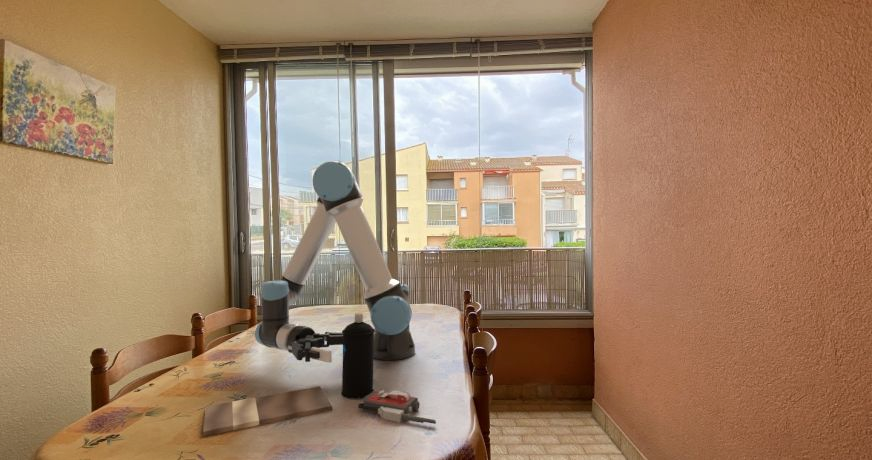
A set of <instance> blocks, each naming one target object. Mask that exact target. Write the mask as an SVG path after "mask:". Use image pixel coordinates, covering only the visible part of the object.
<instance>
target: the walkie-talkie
mask: <svg viewBox="0 0 872 460" xmlns="http://www.w3.org/2000/svg"><path fill="white" fill-rule="evenodd" d="M362 400H363V401H362V402H359V403H358V404H357V408H358V409H361V410H363V412H365V413H369V414H376V415H380V417H381V418H382V419H383V420H385V421H389V422H390V421H391V422H396V423H398V424H401V422H403V421H405V422H407V421H410V422H414V423H421V424H424V423H428V424H434V425H436V423H437V421H436V420H435V419H431V418H427V417H426V418H425V417H420V416H416V415H412V414H413V413H414V412H415V411H416V412H418V411H419V409H420V405H421V404H420V402H419V399H418V397H416V396H411V395H410V393H409V392H406V391H400V390H394V389H393V390H391V391H390V392H385V390H384V389H383V390H381V391H376V390H374V391H373V392H372V393H370V394H369V395H367V396H366V397H365V398H362Z"/></svg>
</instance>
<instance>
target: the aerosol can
mask: <svg viewBox="0 0 872 460" xmlns="http://www.w3.org/2000/svg"><path fill="white" fill-rule="evenodd" d="M363 316H364V315H363V313H360V312H359V313H355V314H354V321H353V322H352V323H349V324H347V325H346V326H345V327H344V328H343V329H342V330H341V333H343V345H342V380H341V381H342V383H341V384H342V385H341V386H342V387H341V388H342V390H341V392H340V394H341V396H342V397H344V398H345V399H348V400H349V399H350V400H363V399H364V398H365V397H366V396H367V395H369V394H370V393H372V392H373V391H375V389H374V359H375V358H374V332H375V328H374V327H372V325H370V323H367V322H364V321H363V320H364V317H363Z"/></svg>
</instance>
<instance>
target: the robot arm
mask: <svg viewBox="0 0 872 460" xmlns="http://www.w3.org/2000/svg"><path fill="white" fill-rule="evenodd" d="M312 188H313V190H314V192H315V194H316V195H317V196H318V198H317V200H316V205H317V207H316V209H315V211H314V213H313V214H312V217H311V219H310V221H309V223H308V224H307V227H305V228H306V229H305V230H304V233H303V235H302V236H301V237H300V240H299V242H298V244H297V246H296V247H295V248H296V249H295V250H294V252H293V254H292V256H291V258H290V260H289V262H288V264H287V266H286V268H285V269H284V271H283V274H282V276H281V278H280V280H269V281H265V282H263V283H262V285H261V292H260V297H261V321H260V322H259V323H258V324H257V326H256V328H255V330H254V338H255V340H256V342H257V343H258V344H260V345H263V346H265V347H267V348H270V349H271V348H272V349H273V348H274V349H276V350H278V349H279V350H281V351H286V352H288V353H290V354H292V355H293V357H294V358H295V359H296V360H297V361H302V360H303V359H304V361H305V363H309V362H310V361H311V359H312V360H316V361H320V362H324V363H329V364H330V363H332V362H333V360H332V358H333V357H332V355H333V353H332V350H329V349H324V348H329V347H330V346H340V345H342V346H343V333H342V332H334V331H333V332H331V331H325V332H324V333H319V332H317V333H316V332H315V330H314V329H313V328H312V327H310V326H305V325H300V324H295V323H290V307H291V306H292V305H293V304H296V303H297V302H298V301H299V299H300V297H301V295H302V290H303V289H304V286H305V284H306V282H307V280H308V278H309V276H310V274H311V272H312V270H313V269H314V266H315V264H316V263H317V260H318V259H319V256H320V255H321V253H322V251H323V249H324V247H325V244H326V242H327V241H328V239H329V238H330V237H329V236H331V233H332V231H333V229H334V227H335V225H336V224H337V226H338V229H339V231H340V233H341V236H342V238H343V240H344V242H345V245H346V247H347V250H348V251H349V252H348V253H349V254H350V256H351V259H352V261H353V263H354V266H355V268H356V270H357V273H358V275H359V277H360V280H361V282H362V284H363V286H364V289H365V292H364V294H363V299H364V301H365V304H366V307H367V309H368V311H369V313H370V316H369V317H370V321H371V324H372V326H373V328H374V330H375V332H374V358H373V359H377V360H383V361H396V360H403V359H407V358H410V357H413V356H414V355H415V354H416V345H415V342H414V339H413V336H412V333H411V331H410V322H411V320H412V315H413V314H412V308H411V306H410V288H409V285H408V284H401V283H400V281H399V280H398V279H394V278H393V277H392V274H391V272H390V269H389V267H388V264H387V263H386V261H385V258H384V256H383V253H382V251H381V249H380V245H378V242H377V240H376V237H375V235H374V233H373V230H372V227H371V226H370V223H369V221H368V218H367V216H366V213H365V211H364V209H363V207H362V204H363V201H364V196H363V195H362V191H361V189H360V187H359V185H358V180H357V177H356V175H355V174H354V172H353V170H352V169H351V168H350V167H349V165H347V164H346V163H344V162H341V161H336V160H330V161H326V162H323V163H322V164H320V165H319V166H318V167H317V168H316V170H315V171H314V173H313V176H312Z"/></svg>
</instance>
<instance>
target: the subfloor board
mask: <svg viewBox="0 0 872 460" xmlns="http://www.w3.org/2000/svg"><path fill="white" fill-rule="evenodd" d="M330 411H333V405H332V403H331V402H330V400H329V398H328V397H327V395H326V394H325V392H324V391H323V389H322V387H321V385H317V386H313V387H307V388H301V389H295V390H294V389H293V390H290V391H285V392H284V391H283V392H279V393H273V394H272V393H271V394H267V395H262V396H255V397H249V398H245V399H244V398H243V399H239V400H232V401H227V402H222V403H217V404H210V405H205V412H204V420H203V427H202V437H209V436H212V435H217V434H222V433H223V434H224V433H227V432H232V431H237V430H241V429H247V428H252V427H256V426H261V425H267V424H271V423H277V422H280V421H286V420H291V419H295V418H301V417H304V416H305V417H307V416H311V415H315V414H319V413H320V414H321V413H325V412H330Z"/></svg>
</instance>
